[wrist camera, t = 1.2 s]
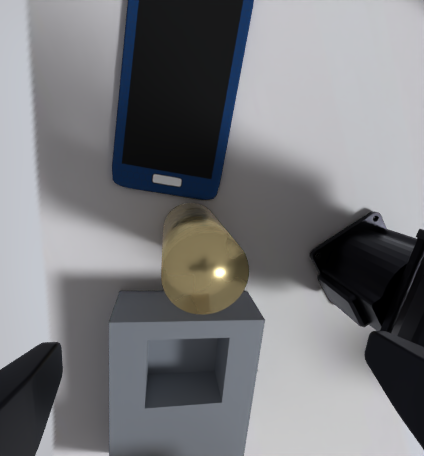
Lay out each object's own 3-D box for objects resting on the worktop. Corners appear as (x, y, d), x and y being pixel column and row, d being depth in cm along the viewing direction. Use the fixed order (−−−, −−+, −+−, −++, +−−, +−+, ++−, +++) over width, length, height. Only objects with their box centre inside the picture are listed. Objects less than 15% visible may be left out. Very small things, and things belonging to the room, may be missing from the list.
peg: (198, 192, 19) (221, 215, 11) (226, 236, 20) (263, 283, 13) (152, 222, 19) (142, 265, 11) (182, 264, 20) (193, 329, 13)
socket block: (112, 291, 20) (58, 427, 10) (253, 291, 22) (327, 405, 12) (112, 454, 24) (73, 672, 14) (232, 441, 26) (274, 624, 16)
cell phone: (111, 184, 18) (109, 185, 18) (135, -58, 15) (133, -69, 14) (214, 200, 20) (216, 202, 19) (255, -16, 17) (259, -24, 16)
